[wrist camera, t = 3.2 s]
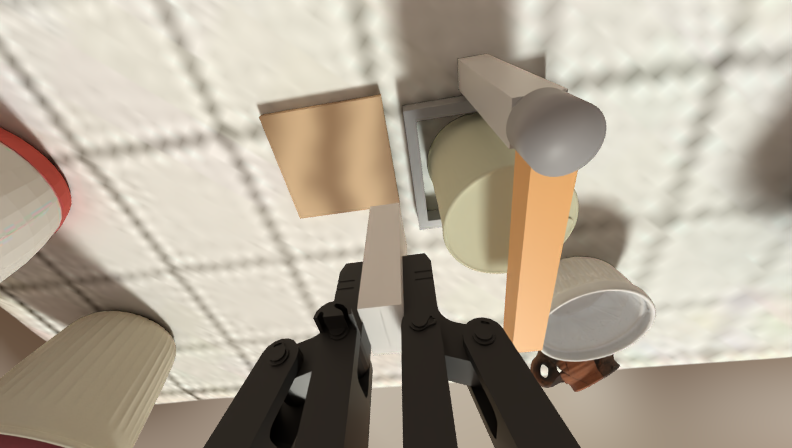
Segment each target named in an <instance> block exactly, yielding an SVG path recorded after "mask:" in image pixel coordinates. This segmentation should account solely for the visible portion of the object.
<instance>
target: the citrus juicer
mask: <svg viewBox="0 0 792 448" xmlns="http://www.w3.org/2000/svg"><path fill="white" fill-rule="evenodd" d="M70 207H71V195H70V191H69V188H68V186H67V184H66V182H65V180H64V178H63V177H62V176H61V174H60V173H59V172H58V170H57V169H56V168H55V166H54V165H53V164H52V163H51V162H50V161H49V160H48V159H47V158H46V157H45V156H44V155H42V154H41V153H40V152H39V151H38V150H36V149H35V148H34V147H33V146H31V145H30V144H28V143H27V142H25V141H24V140H22V139H21V138H19V137H18V136H16V135H14V134H12V133H10V132H8V131H6V130H4V129H2V128H0V282H2V281H3V280H5V279H6V278H7V277H9V276H10V275H11V274H13V273H14V272H15V271H17V270H18V269H19V268H20V267H22V266H23V265H24V264H26V263H27V262H28V261H29V260H30V259H31V258H32V257H33V256H34V255H35V254H36V253H37V252H38V251H39V250H40V249H41V248H42V247H43V246H44V245H45V244H46V242H47V241H48V240H49V239H50V237H51V236H52V235H53V234H54V233H56V232H57V230H58V229H59V228H60V227H61V225H62V224H63V222H64V220H65V218H66V216H67V215H68V213H69V210H70Z"/></svg>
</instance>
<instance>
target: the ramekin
mask: <svg viewBox="0 0 792 448" xmlns="http://www.w3.org/2000/svg"><path fill="white" fill-rule="evenodd" d="M655 318H656V309H655V306H654V304H653V302H652V301H651V299H650V298H649V297H648V295H647V294H646V293H645V292H644V291H643V290H642V289H640V288H639V287H637V286H635V285H633V284H632V283H631V282H630V281H629V280H628V279H627V278H626V277H625V276H624V275H622V274H621V273H620V272H619V271H618V270H617V269H615V268H614V267H613V266H612V265H610V264H609V263H607V262H605V261H603V260H599V259H596V258H592V257H569V258H564V259H561V260H560V263H559V268H558V273H557V278H556V283H555V288H554V293H553V298H552V303H551V308H550V313H549V318H548V323H547V328H546V334H545V339H544V344H543V349H542V350H541V352H542V353H544V354H545V355H547V356H549V357H551V358H554V359H557V360H562V361H574V362H576V361H588V360H594V359H599V358H603V357H606V356H609V355H612V354H615V353H617V352H620V351H622V350H624V349H626V348H628V347H629V346H631V345H633V344H634V343H636V342H637V341H638V340H640V339H641V338H642V337H643V336H644V335H645V334H646V333H647V332H648V331H649V330H650V328H651V327H652V325H653V323H654V321H655Z"/></svg>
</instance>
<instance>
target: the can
mask: <svg viewBox="0 0 792 448" xmlns="http://www.w3.org/2000/svg"><path fill="white" fill-rule="evenodd" d="M427 165H428V172H429V176H430V178H431V180H432V182H433V186H434V190H435V194H436V199H437V203H438V208H439V213H440V217H441V222H442V228H443V238H444V241H445V244H446V247H447V249H448V250H449V252H450V253H451V255H452V256H453V257H454V258H455V259H456V260H457V261H458V262H460V263H461V264H462V265H464V266H466V267H468V268H470V269H472V270H475V271H479V272H484V273H492V274H501V273H507V268H508V253H509V238H510V224H511V209H512V194H513V180H514V165H515V149H509V148H508V147H507V146H506V145H505V144H504V142H503V141H502V140H501V139H500V138H499V137H498V135H497V134H496V133H495V132H494V131H493V129H492V128H491V127H490V126H489V125H488V124H487V122H486V121H485V120H484V119H483V118H482V116H481V115H480V114H479V113H472V114H468V115H464V116H462V117H459V118H457V119H455V120H454V121H452V122H450V123H449V124H448V125H446V126H445V127H444V128H443V129H442V130H441V131H440V132H439V134H438V135H437V136H436V138H435V139H434V141H433V143H432V145H431V147H430V150H429V154H428V161H427ZM578 210H579V204H578V198H577V194H576V191H575V189H574V192H573V197H572V202H571V207H570V212H569V217H568V222H567V227H566V232H565V237H564V242H565V241H566V240H567V239H568V237H569V236H570V234H571V232H572V230H573V229H574V226H575V224H576V221H577V217H578ZM564 242H563V244H564Z"/></svg>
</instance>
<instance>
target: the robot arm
mask: <svg viewBox="0 0 792 448" xmlns="http://www.w3.org/2000/svg"><path fill="white" fill-rule="evenodd" d="M313 319H314V321H315V323H316V325H317V327H318V329H319V331H320V333H319V334H318V335H317V336H315V337H313V338H311V339H308V340H306V341H303V342H301V343H298V344H296V342H295V341H294V340H291V339H281V340H278V341H276V342H274V343H272V344H271V345H270V346H268V347H267V348H266V350H265V351H264V352H263V353H262V355H261V356H260V358H259V360H258V361H257V363H256V364H255V366H254V368H253V369H252V371H251V372H250V374H249V376H248V377H247V379H246V380H245V382H244V384H243V385H242V387H241V388H240V390H239V392H238V393H237V395H236V396H235V398H234V400H233V401H232V403H231V404H230V406H229V408H228V409H227V411H226V413H225V414H224V416H223V417H222V419H221V421H220V422H219V424H218V425H217V427H216V429H215V430H214V432H213V433H212V435H211V436H210V438H209V440H208V441H207V443H206V444H205V446H204V448H368V440H369V439H368V438H369V424H370V406H371V390H372V373H373V369H372V364H371V361H370V354H371V350H372V353H373V356H374V355H384V354H395V353H402V411H403V448H458V447H457V439H456V432H455V425H454V418H453V411H452V404H451V397H450V391H449V383H448V380H449V381H452V382H456V383H460V384H464V385H467V387H468V389H469V391H470V393H471V396H472V398H473V400H474V402H475V404H476V407H477V409H478V411H479V413H480V416H481V418H482V420H483V423H484V425H485V427H486V429H487V432H488V434H489V436H490V438H491V440H492V443H493V445H494V447H495V448H581V447H580V446H579V444H578V443H577V441H576V440H575V438H574V437H573V435H572V434H571V432H570V431H569V429H568V427H567V426H566V424H565V423H564V421H563V420H562V418H561V417H560V415H559V414H558V412H557V410H556V409H555V407H554V406H553V404H552V403H551V401H550V400H549V398H548V397H547V395H546V394H545V392H544V391H543V389H542V388H541V386H540V384H539V383H538V381H537V380H536V378H535V377H534V375H533V374H532V372H531V371H530V369H529V368H528V366H527V364H526V363H525V361H524V360H523V358H522V357H521V355H520V354H519V352H518V351H517V349H516V348H515V346H514V344H513V343H512V341H511V340H510V338H509V337H508V335H507V334H506V332H505V331H504V329H503V328H502V327H501V326H500V325H499V324H498V323H497V322H495V321H493V320H491V319H488V318H475V319H473V320H471V321H469V322H468V323H467V324H461V323H456V322H453V321H450V320H448V319H446V318H445V317H444V316H443V315H441V313H440V312H439V310H438V307H437V301H436V294H435V287H434V280H433V273H432V266H431V260H430V259H429V258H428V257H427V255H426V254H425V253H423V254H415V255H407V244H406V239H405V233H404V227H403V222H402V216H401V211H400V205H399V203H393V204H386V205H379V206H371V207H370V212H369V220H368V228H367V235H366V243H365V251H364V259H363V262H356V263H348V264H346V265H345V266H344V268H343V269H342V271H341V272H340V275H339V280H338V285H337V291H336V294H335V299H334V301H333V302H329V303H327V304H325V305H323V306H322V307H321V308H320V309H319V310H318V311H317V312H316V314H315V316H314V318H313Z"/></svg>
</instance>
